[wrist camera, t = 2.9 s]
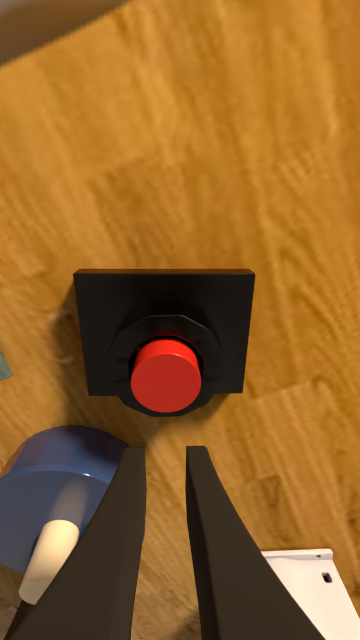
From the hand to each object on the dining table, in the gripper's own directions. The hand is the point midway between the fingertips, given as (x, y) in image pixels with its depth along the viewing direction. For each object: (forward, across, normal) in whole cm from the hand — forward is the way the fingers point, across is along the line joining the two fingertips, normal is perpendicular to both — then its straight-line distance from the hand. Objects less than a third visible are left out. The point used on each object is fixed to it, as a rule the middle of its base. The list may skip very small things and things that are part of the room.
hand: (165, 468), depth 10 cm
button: (+7, 0, 0) cm, 7 cm away
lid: (+6, +7, +12) cm, 15 cm away
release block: (+9, 0, -1) cm, 9 cm away
